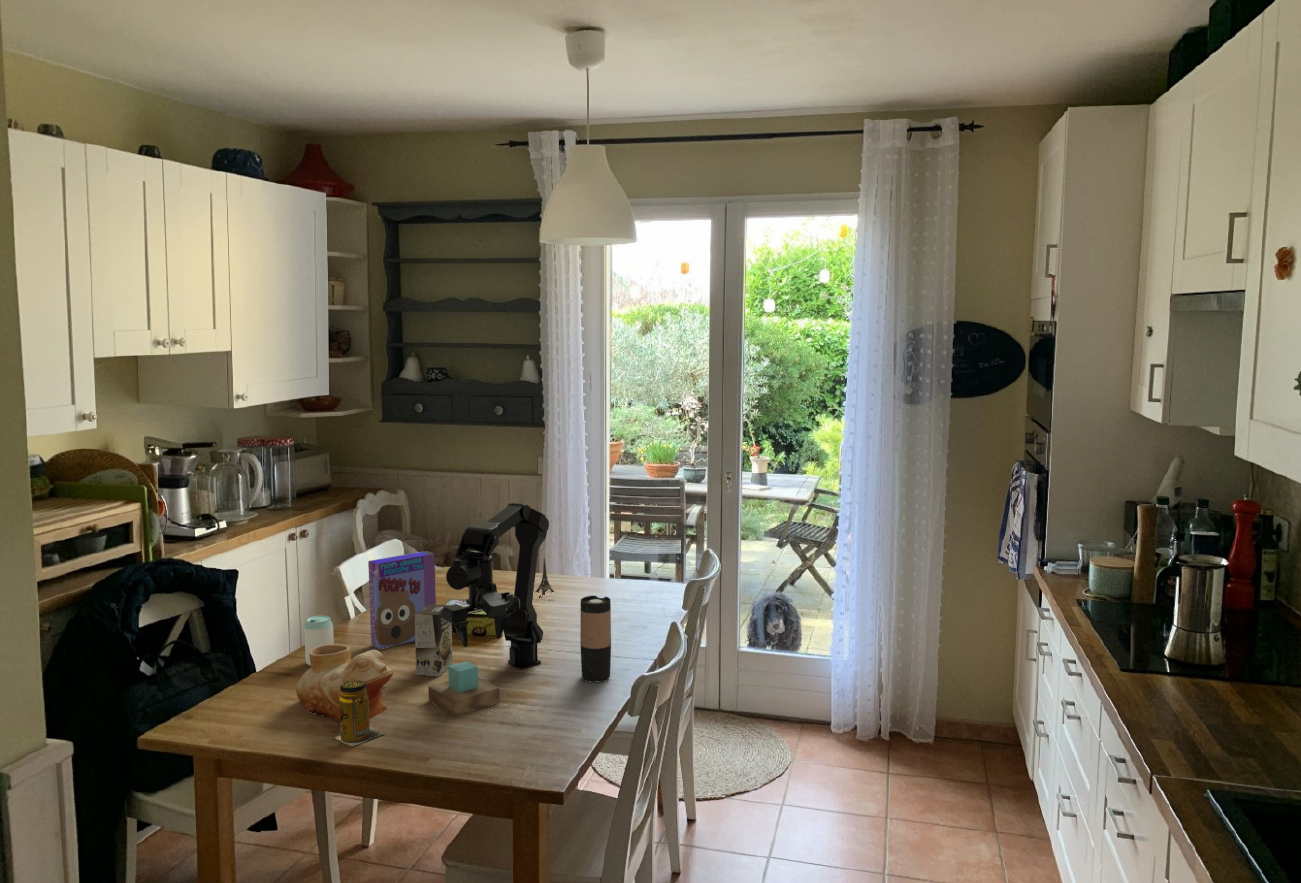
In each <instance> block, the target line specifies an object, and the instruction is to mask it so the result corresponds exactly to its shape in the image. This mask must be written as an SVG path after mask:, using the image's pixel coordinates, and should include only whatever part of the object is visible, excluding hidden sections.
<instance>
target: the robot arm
mask: <svg viewBox="0 0 1301 883" xmlns="http://www.w3.org/2000/svg"><path fill="white" fill-rule="evenodd" d="M549 527H550V521H549V519H548V518H547V517H546V515H545V514H544V513H542V512H540V511H538V510H536V509H534V508H532V507H531V506H529V505H528V504H526V503H520V502H511V503H508V504H507V506H506V507H505V508H504V509H503V510H501V511H500V512H498V513H497V514H495V515H494V516H492V517H491V518H490V519H488V520H487V521H485V522H480V523H475V524H473V525H469V526H468V527H467V528H465V530H464V532H463V533H462V536H461V539H460V542H459V545H458V548H457V550H456V554H455V558H456V559H453V561H452V562H453V565H452V566H450V567H448V570H447V571H446V574H445V577H446V578H445V579H446V582H447V584H448V586H449V587H450V588H452V590H457V591H460V590H463V589H465V588H468V598H466V599H465V603H466V605H467V606H462V605H459V604H457V603H456V604H449V605H450V606H445V607H444V608H443V609H442V611H441V618H442V619H444V620H447V621H448V622H451V626H453V628H454V629H455V631H456V634H457V635H458V637H459V639H460V641H461V644H462V646H463V647H465V648H466V647H468V625H469V623H470V621H468V620H467V619H468V618H469V615H472V614H473V615H474V614H476V613H481V612H484V613H485V614H486V616H487V617H488V618H493V621H494V631H495V636H496V638H497V639H499V640H500V639H501V637H502V634H503V635H504V640H505V642H510V647H509V649H508V650H509V660H507V663H508V664H510V665H513V666H514V667H516V668H518V669H525V668H528V667H532V666H535V665H540V664H542V661H541V660H539V658H538V644H540V643H542V640H543V637H544V630H543V629H542V628H541V626H540V625H539V624H538V614H537V611H536V610H535V608H534V607H535V606H534V604H533V600H534V599H533V592H535V591H534V587H535V582H536V581H535V580H536V572H537V565H538V564H537V562H538V554H539V548H540V547H541V545H542V544H543V542H545V540H546V538H547V534H548V531H549ZM513 528H514V536H515V538H516V541H517V544H518V545H519V549H518V559H517V567H516V576H515V583H514V589H513V590H514V592H513V593H512V592H511V591H505V592H498V588H497V584H496V583H494V579H493V578H494V571H493V570H494V565H493V559H494V558H496V557H497V553H496V552H495V551H494V550H495V549H496V548H497V547H498V545H499V544H500V538H501V537H502V536H503V535H504V534H506V533H507V532H509V530H511V529H513Z"/></svg>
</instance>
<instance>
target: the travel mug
mask: <svg viewBox="0 0 1301 883" xmlns="http://www.w3.org/2000/svg"><path fill="white" fill-rule="evenodd" d="M611 609H612V608H611V598H610V597H609V596H604V597H599V596H597V595H587V596H584V597H582V598H581V599H580V626H579V627H580V630H579V632H580V633H579V634H580V639H579V640H580V644H579V645H580V664H581V665H580V667H581V668H580V669H581V678H582V680H583V681H585V680H587V681H586V682H589V681H591V682H590V683H596V682H595V681H602V682H605V681H604V680H606V681H607V679H608V678H609V677H610V678H611V666H612V665H611V664H612V663H611V661H612V659H611V658H612V655H611V654H612V617H611V616H612V614H611V613H612V610H611ZM610 678H609V679H610ZM609 679H608V680H609Z"/></svg>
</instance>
